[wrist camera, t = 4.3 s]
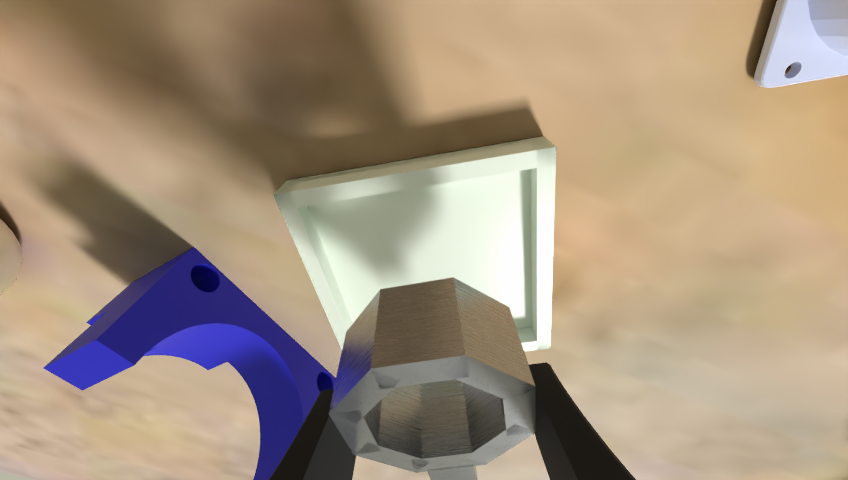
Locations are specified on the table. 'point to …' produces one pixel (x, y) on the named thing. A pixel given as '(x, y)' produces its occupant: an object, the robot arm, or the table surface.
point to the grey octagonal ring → (434, 380)
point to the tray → (432, 230)
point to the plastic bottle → (8, 257)
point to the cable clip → (202, 345)
